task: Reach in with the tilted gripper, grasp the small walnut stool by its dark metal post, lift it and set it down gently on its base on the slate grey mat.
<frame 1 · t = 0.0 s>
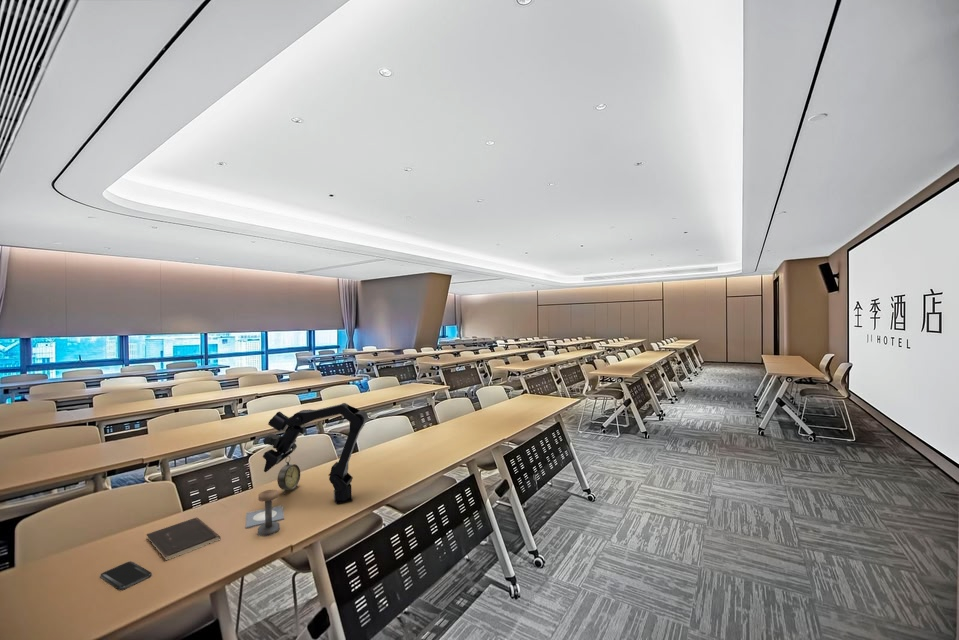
hand: (270, 467, 172), 15 cm above the table, tool tilted 35°, fingers open, 9 cm apart
mat: (265, 517, 158), on the table
stool: (268, 530, 147), on the table
phone: (126, 577, 122), on the table
alarm clock: (288, 491, 183), on the table
hardcover book: (183, 541, 143), on the table
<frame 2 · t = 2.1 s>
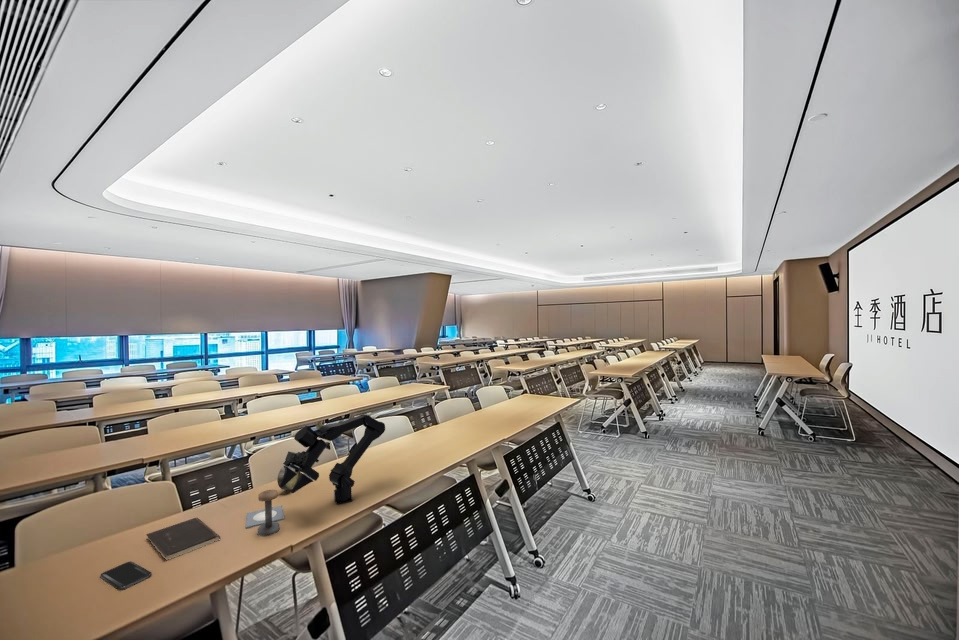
hand: (286, 489, 153), 13 cm above the table, tool tilted 45°, fingers open, 9 cm apart
nothing on the table moved.
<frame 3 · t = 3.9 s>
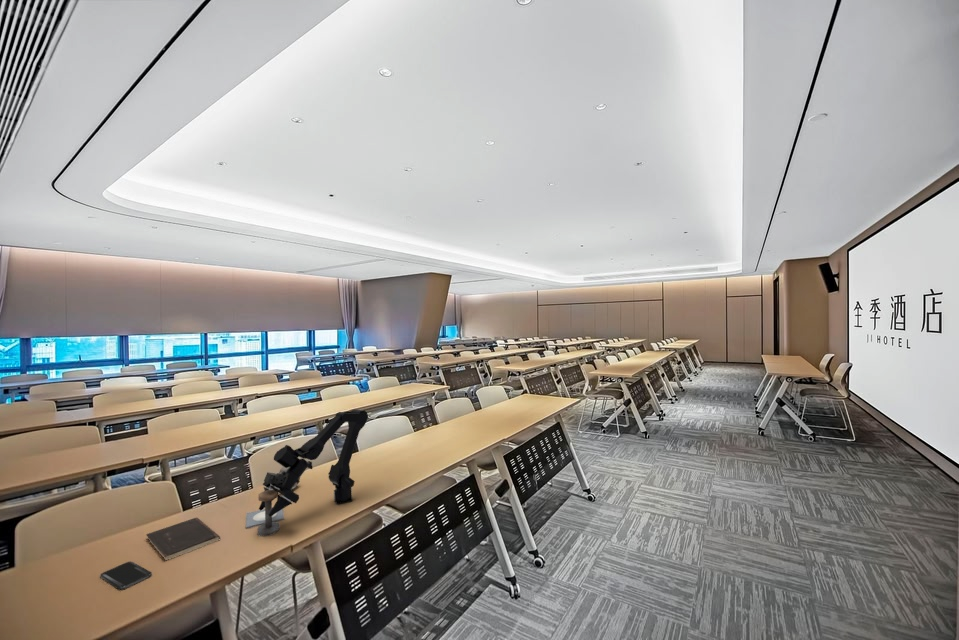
hand: (264, 512, 146), 7 cm above the table, tool tilted 45°, fingers open, 8 cm apart
stool: (268, 530, 147), on the table, touching gripper
everything else where it was.
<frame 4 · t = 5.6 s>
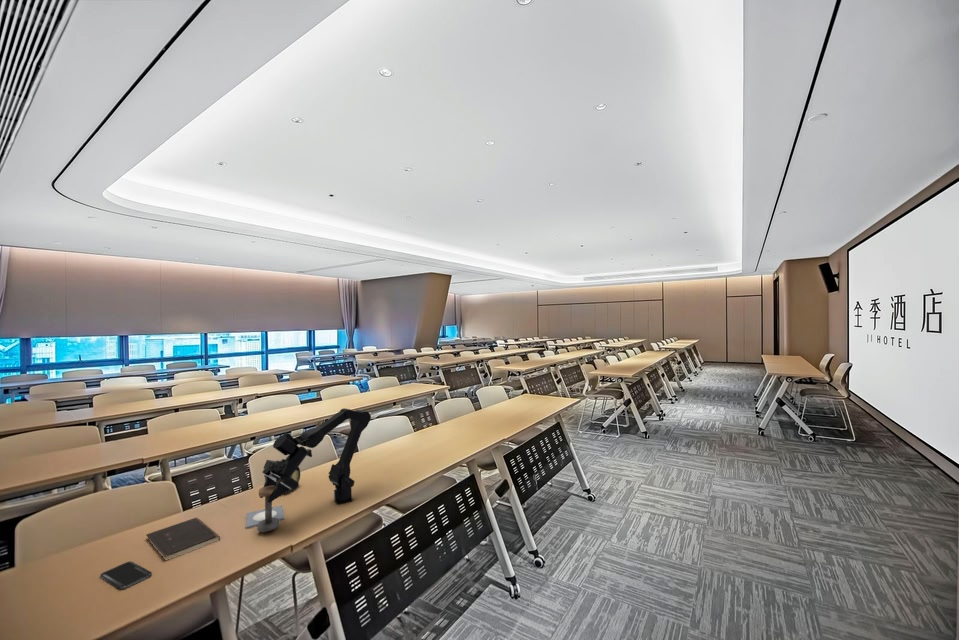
hand: (264, 499, 146), 12 cm above the table, tool tilted 45°, fingers closed on stool, 6 cm apart
stool: (268, 526, 147), point 2 cm above the table, touching gripper
everything else where it was.
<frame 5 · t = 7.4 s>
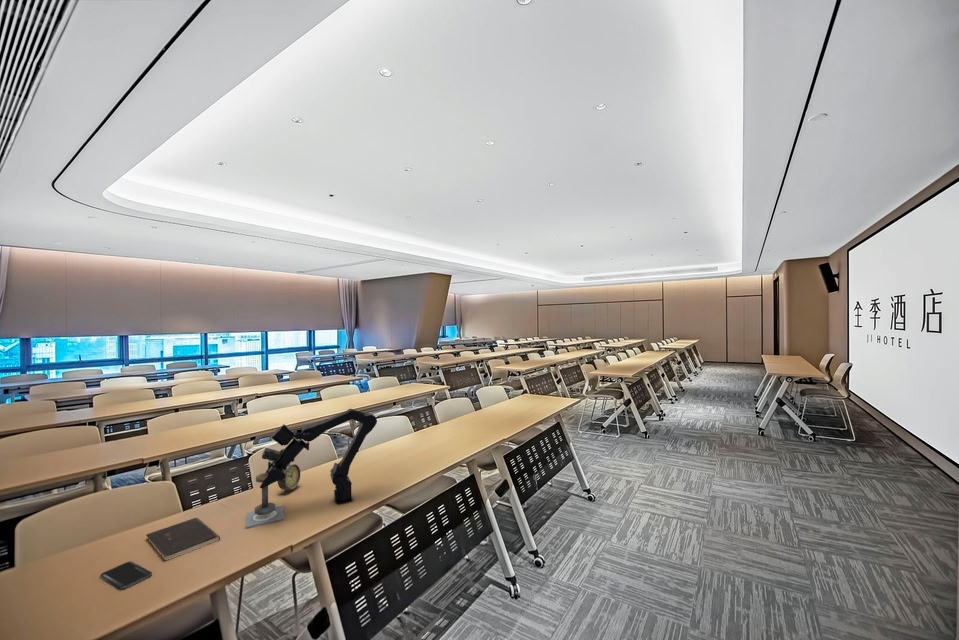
hand: (260, 484, 158), 13 cm above the table, tool tilted 45°, fingers closed on stool, 6 cm apart
stool: (265, 510, 158), point 3 cm above the table, touching gripper
everything else where it was.
when the fingers open (9 cm above the table, at t = 8.8 s): stool stays where it is, resting on mat.
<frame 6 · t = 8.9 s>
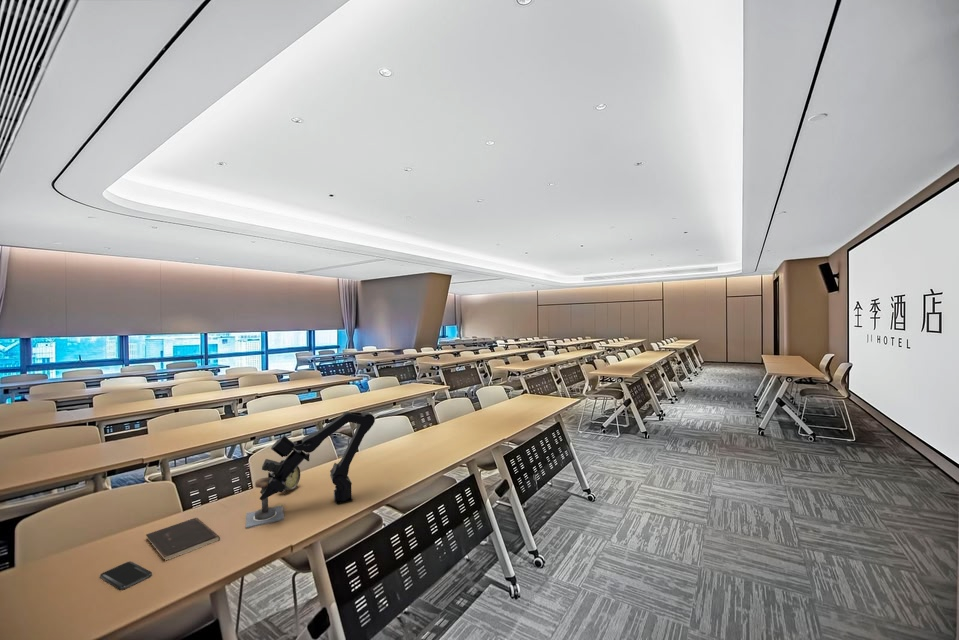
hand: (260, 496, 158), 9 cm above the table, tool tilted 45°, fingers open, 6 cm apart
stool: (265, 515, 158), point 1 cm above the table, touching mat
everything else where it was.
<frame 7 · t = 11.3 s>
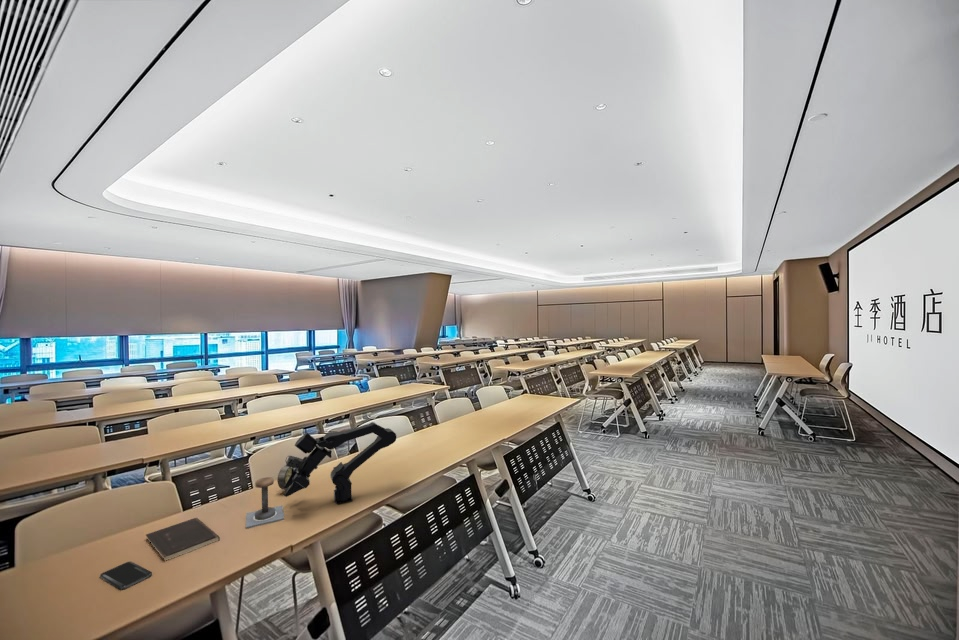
hand: (285, 491, 162), 8 cm above the table, tool tilted 45°, fingers open, 9 cm apart
nothing on the table moved.
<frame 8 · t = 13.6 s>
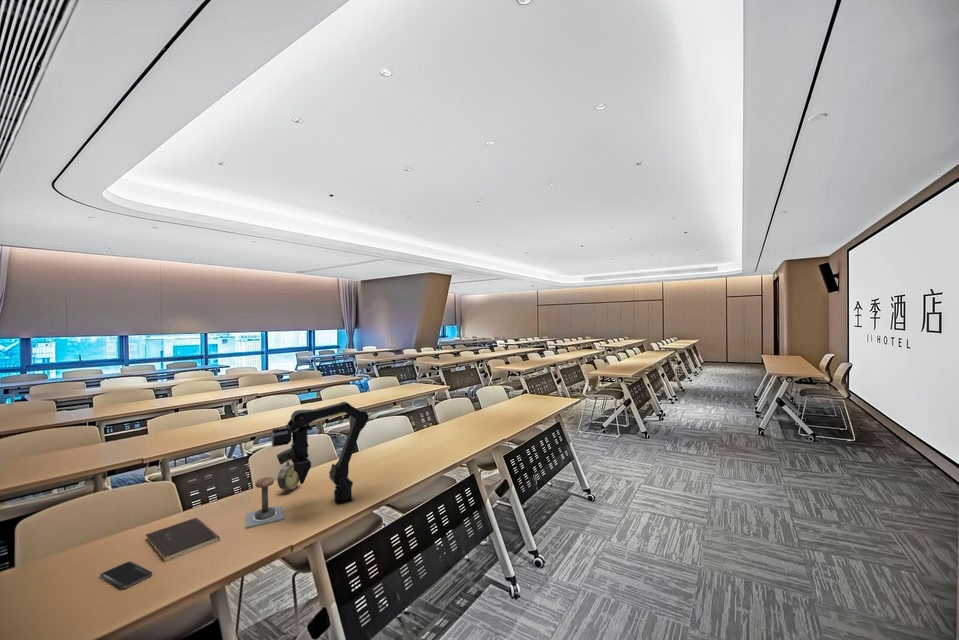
hand: (300, 480, 162), 13 cm above the table, tool pointing down, fingers open, 9 cm apart
nothing on the table moved.
at the end: stool inside the target area on the mat (0.2 cm from its centre), point 0.7 cm above the mat's base; stool tilted 0°; the gripper is holding nothing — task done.
